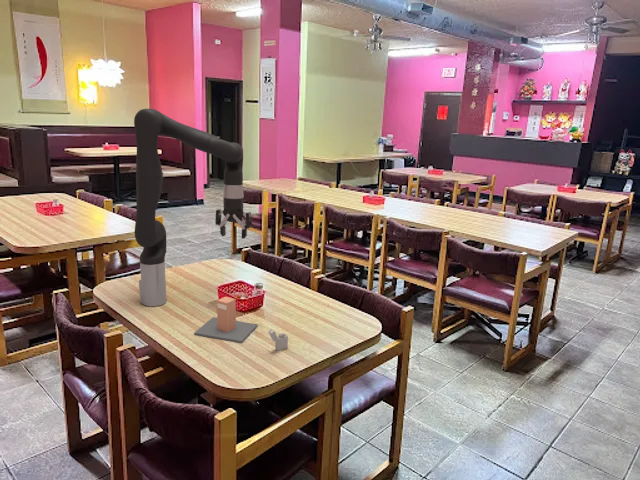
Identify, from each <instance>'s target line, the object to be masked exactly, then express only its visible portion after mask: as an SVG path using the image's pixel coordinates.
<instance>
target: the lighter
mask: <svg viewBox="0 0 640 480" xmlns="http://www.w3.org/2000/svg"><path fill="white" fill-rule="evenodd" d="M267 332H268V334H269V336H270V338H271V340H272V341H273V342H274V343H275V347H274V350H276V351H277V352H280V351H282V350H285V349H288V347H289V344H288V343H289V335H287V334H286V333H284V332H282V333H278V336H277V334H276V331H275V330H274V329H273V328H270V329H269V330H268V331H267Z"/></svg>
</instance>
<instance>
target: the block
mask: <svg viewBox="0 0 640 480" xmlns="http://www.w3.org/2000/svg"><path fill="white" fill-rule="evenodd" d="M236 304H237V303H236V298H232V297H229V296H224V297H221V298H220V299H218V300H216V308H217V309H216V310H217V311H216V314H217V315H216V316H217V317H216V318H217V323H218V329H219V330H222V331H225V332H229V331H231V330H233V329H235V328H236V321H237V319H236V315H237V311H236V310H237V309H236V308H237V307H236V306H237V305H236Z"/></svg>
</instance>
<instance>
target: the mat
mask: <svg viewBox="0 0 640 480" xmlns="http://www.w3.org/2000/svg"><path fill="white" fill-rule="evenodd" d="M258 327H259V325H258V324H257V323H253V322H252V323H251V322H247V321H239V320H236V328H235V329H233V330H231V331H229V332H225V331H222V330H219V329H218V323H217V317H215V316H213V317H211V318H210V319H209V320H207V321H206V323H204V324H203V325H202V326H201V327H199V328H198V329H197V330H196V331H194V336H198V337H203V338H204V337H205V338H210V339H215V340H221V341H228V342H232V343H238V344H243V343H245V340H247V339H248V338H249V336H250V335H251V334H252V333H253V332H254V331H255V330H256V329H257V328H258Z"/></svg>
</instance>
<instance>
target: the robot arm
mask: <svg viewBox="0 0 640 480" xmlns="http://www.w3.org/2000/svg"><path fill="white" fill-rule="evenodd" d="M133 125H134V133H135V143H136V161H135V164H136V165H135V166H136V168H135V169H136V170H135V186H136V187H135V188H136V189H135V190H136V198H135V199H136V200H135V201H136V202H135V203H136V212H135V223H134V239H135V242H136V244H138V246H140V247H141V248H143V249H142V251H141V253H140V255H139V265H140V266H139V268H140V279H139V280H138V288H139V289H138V290H139V303H140V304H142V305H144V306H145V305H146V307H159V306H161V305H162V306H163V305H164V304H166V303H167V283H166V282H167V281H166V263H165V262H166V261H165V260H166V259H165V257H166V254H167V230H166V227H165V225H164V224H163V222H161V221H159V220H157V219H156V213H157V212H156V211H157V207H158V203H159V201H160V199H161V198H160V197H161V194H162V191H163V169H162V163H161V161H160V160H161V159H160V156H159V151H158V147H159V146H158V142H159V135H161V136H166V137H170V138H172V139H175V140H177V141H179V142H181V143H183V144H185V145H187V146H189V147H191V148H192V149H196V150H197V151H201V152H204V153H206V154H210V155H213V156H214V157H216V158H218V159H221V160H223V161H224V171H223V193H222V195H223V198H222V200H223V201H222V202H223V209H221V208H219V209H216V210H215V225H216V226H219V229H220V230H219V231H220V233H219V234H220V235H221V237H225V236H226V233H227V231H226V224H227V223H229V222H230V223H237V224H238V225H239V226H240V227H241V240H242V239H243V240H244V239H245V238H246V237H247V235H248V234H247V233H248V229H250V228H251V227H252V226H253V224H252V213H251V211H248V212H246V211H244V185H243V183H244V182H243V177H244V175H243V174H244V173H243V165H244V148H243V146H242V145H241V144H240V143H238V142H231V141H230V142H229V141H227V140H224V139H221V138H219V137H218V136H216V135H214V134H212V133H209V132H207V131H204V130H202V129H198V128H195V127H193V126H189V125H186V124H184V123H181V122H178V121H177V120H175V119H173V118H171V117H169V116H168V115H166V114H164V113H162V112H160V111H159V110H157V109H155V108H142V109H139V110H138V112H136V114H135V116H134V118H133ZM222 215H223V216H224V217H223V219H222ZM243 217H244V218H243ZM244 219H245V220H244Z"/></svg>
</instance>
